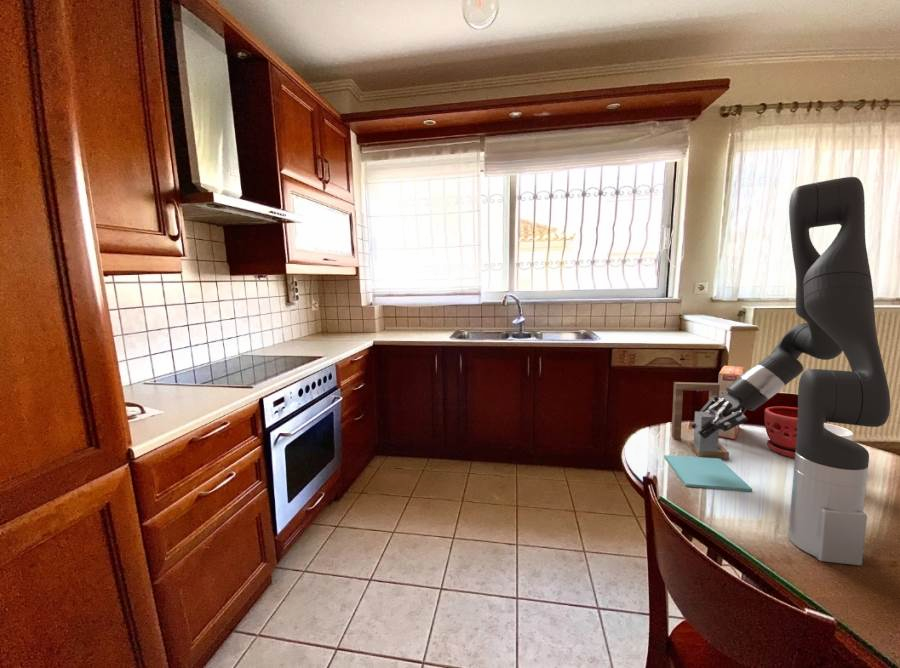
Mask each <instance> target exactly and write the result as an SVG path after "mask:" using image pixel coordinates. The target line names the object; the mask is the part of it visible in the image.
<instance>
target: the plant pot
mask: <svg viewBox="0 0 900 668" xmlns="http://www.w3.org/2000/svg"><path fill="white" fill-rule="evenodd" d="M763 420H764V427H765V432H766V435H767V436H768V440H767V441H766V443H767V446H768V448H769V449H770V450H772V451H774V453H778V454H780V455H783V456H786V457H789V458H794V459H795V453H796V441H797V424H798V407H791V406H770V407H766V408H765V409H764V419H763ZM824 423H826V424H828V422H824Z"/></svg>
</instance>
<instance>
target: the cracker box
mask: <svg viewBox="0 0 900 668" xmlns="http://www.w3.org/2000/svg"><path fill="white" fill-rule="evenodd" d="M744 373H745V367H742V366H735V365H734V366H733V365H723V367H722V368H721V370H720V371H719V373H718V382H717V383H718V384H720V391H719V398H721V397H723V396H725V395H727V394H728V392H727V390H726V388H727V387H728V386H729V385H730V384H732V383H733V382H734V381H735V380H737V379H738V378H739V377H740V376H742V375H743V374H744ZM727 425H729V424H726V426H727ZM740 425H741V424H739V425H737V426H735V427H733V428H731V429H729V430H727V431H723V430H719V436H718V437H719V438H726V439H729V440H735V441H736V439H737V436H738V433H739V430H740Z"/></svg>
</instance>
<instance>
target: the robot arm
mask: <svg viewBox="0 0 900 668" xmlns="http://www.w3.org/2000/svg"><path fill="white" fill-rule="evenodd" d="M863 185H864V184H863V182H862V181H861V180H860V178H859V177H857V176H846V177H839V178H833V179H827V180H824V181H817V182H813V183H812V182H811V183H808V184H803V185H799V186H797V187H795V188H794V189H793V190H792V192H791V195H790V198H789V205H788V207H789V208H788V219H789V220H788V221H789V230H790V231H789V232H790V240H791V242H790V243H791V250H792V258H793V263H794V269H795V270H794V272H795V287H796V288H795V313H796V315H797V316H798V317H799V318H800V319H802V320H804V321H805V322H803V323H799V324H797V325H794V326H793V327H791V328H790V329H788V330H787V331H786V332H785V334H783V336H782V338H781V339H780V341H779V342H778V343H777V345H776V346H775V347H774V349H773V350H772V352H771V353H770V354H769V355H767V356H766V357H765V358H763V360H761V361H760V362H759V363H757V364H756V365H754V366H753V367H750V368H749V369H748V370H747V371H744V374H743V375H742V376H740V377H739V378H738V379H737V380H735V381H734V382H733V383H732V384H730V385H729V386H728V387H727V388H726V390H727V392H728V394H727V395H725V396H723V397H721V398H718V397H717V396H713V397H712V398H711V399H710V400H709V399H708V401H707V402H706V403H705V404H704V405H703V406H702V408H701V409H700V410H699V412H712V413H714V414H715V415H716V417H715V418H714V419H713V420H712V421H711V423H708V424H707V425H706V426H704V427H703V428H702V429H700V430H699V431H698V433H699V434H700V435H701V436H702V437H703V438H707V437H708V436H710V435H711V434H712V433H714V432H715V431H716V430H723V431H727V430H729V429H731V428H733V427H735V426H737V425H739V424H740V425H741V424H743V423H744V422H746V421H748V419H749V418H748V417H747V416H746V415H745V412H747V410H749V411H753V412H754V411H756V410H757V409H759V407H761V406H762V405H764V404H765V403H767V402H768V401H769V400H770V399H771V398H773V397H774V396H775V395H776V394H778V393H779V392H780V391H781V390H782V389H783V388H784V387H785V386H786V385H788V384H789V383H790V382H791V381H793V380H795V378H797V377H798V376H800V375H801V376H800V378H799V380H798V387H797V408H798V424H797V441H796V453H795V458H794V465H793V475H792V487H791V488H792V489H791V499H790V509H789V511H790V512H789V524H788V539H789V540H790V542H792V544H794V545H795V546H796V547H797V548H798V549H800V550H802V551H804V552H805V553H807V554H809V555H812V556H814V557H815V558H816V559H817V560H819V562H826V563H835V564H842V565H843V564H844V565H845V564H846V565H853V566H862V565H863V558H864V557H863V556H864V548H865V539H866V530H867V522H868V515H867V513H865V512H864V509H865V508H864V505H865V497H866V490H867V489H866V488H867V481H868V470H869V463H870V454H869V451H868V449H867V448H866V447H864V446H863V445H861V444H859V443H858V442H856V441H853V440H852V441H851V440H848V439H846V438H843V437H841V436H838V435H836V434H834V433H832V432H830V431H828V430H827V429H825V428H824V422H827V423H836V424H843V425H852V426H860V427H869V428H877V427H882V426H884V425H885V424H886V422H887V421H888V419H889V418H890V412H891V397H890V396H891V395H890V389H889V384H888V380H887V379H888V378H887V375H886V371H885V366H884V363H883V358H882V354H881V350H880V346H879V345H880V344H879V342H878V334H877V333H878V332H877V326H876V317H875V316H876V315H875V301H874V299H875V297H874V288H873V287H874V286H873V281H872V275H871V274H872V273H871V268H870V263H869V257H868V250H867V245H866V244H867V243H866V242H867V241H866V210H865V209H866V206H865V204H866V202H865V190H864V186H863ZM834 225H840V229H839V230H838V232H837V235H836V236H835V237H834V239H833V241H832V242H831V243H830V244H829V246H828V247H827V248H826V249H825V251H823V253H821V254H820V253H819V251H818V250H817V249H816V247H815V246H814V244H813V242H812V240H811V237H810V236H811V235H810V229H812V228H818V227H825V226H834ZM842 353H843V354H844V355H845V357H846V359H847V362H848V364H849V367H850V371H849V370H839V369H838V370H836V369H820V368H819V369H818V368H817V369H816V368H809V369H806V370H805V371H804V366H803V364H802V363H801V362H800V361H799V357H800V356H801V355H802V354H805V355H807V356H810V357H812V358H815V359H816V360H817V359H818V360H821V361H822V360H823V361H827V360H828V361H829V360H832V359H835V358H837V357H839V356H840V354H842ZM801 373H802V374H801ZM716 411H717V412H716ZM726 424H729V425H727V426H726ZM694 425H695V421H693V422H692V423H690V426H691V428H692V429H694Z"/></svg>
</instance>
